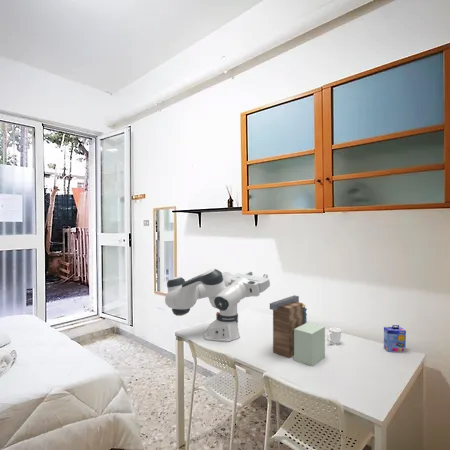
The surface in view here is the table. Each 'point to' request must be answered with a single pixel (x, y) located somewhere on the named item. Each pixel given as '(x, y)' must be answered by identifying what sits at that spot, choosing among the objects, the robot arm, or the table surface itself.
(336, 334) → the cup
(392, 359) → the table surface
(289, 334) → the walnut stand
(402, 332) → the ink cartridge box
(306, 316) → the canister
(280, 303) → the metal bar
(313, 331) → the sage block
